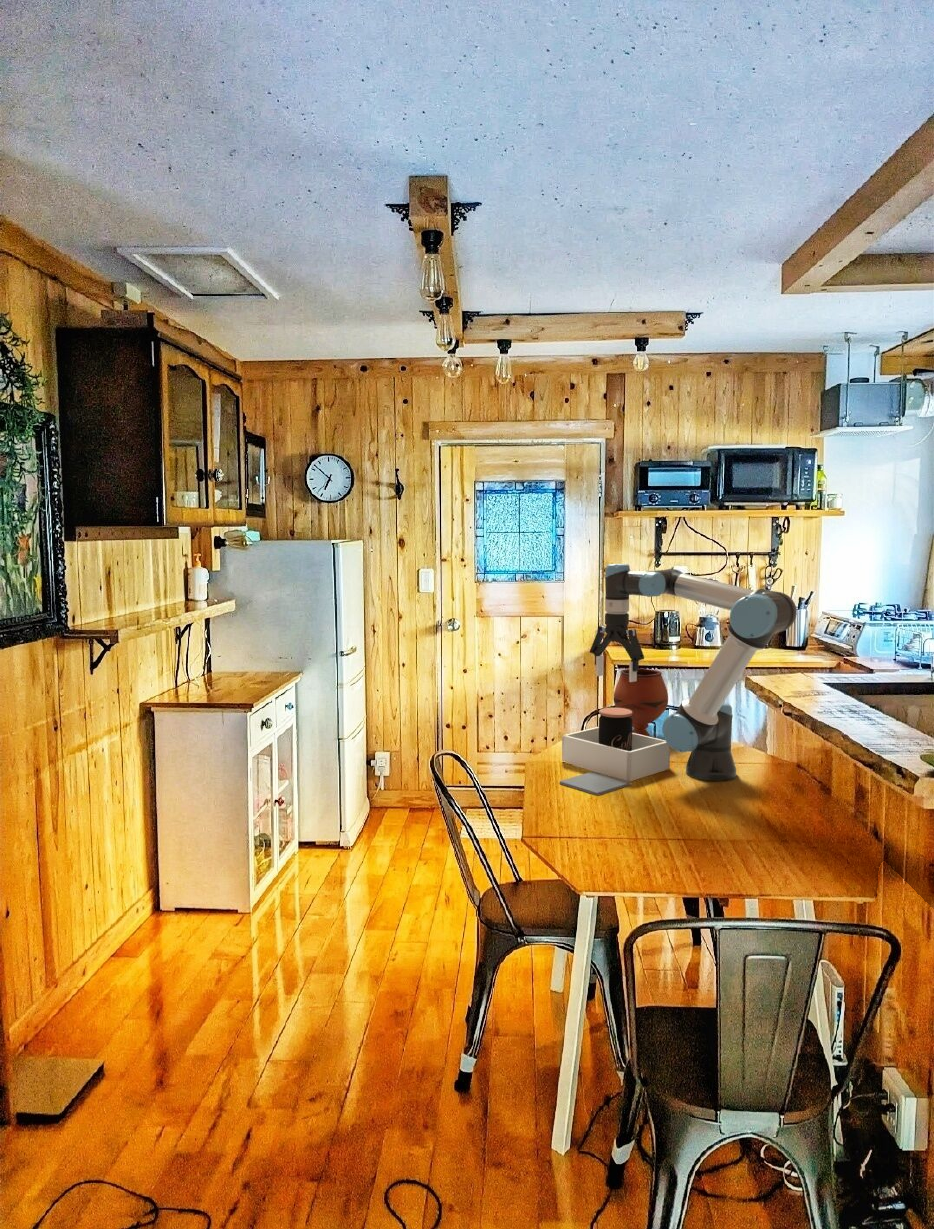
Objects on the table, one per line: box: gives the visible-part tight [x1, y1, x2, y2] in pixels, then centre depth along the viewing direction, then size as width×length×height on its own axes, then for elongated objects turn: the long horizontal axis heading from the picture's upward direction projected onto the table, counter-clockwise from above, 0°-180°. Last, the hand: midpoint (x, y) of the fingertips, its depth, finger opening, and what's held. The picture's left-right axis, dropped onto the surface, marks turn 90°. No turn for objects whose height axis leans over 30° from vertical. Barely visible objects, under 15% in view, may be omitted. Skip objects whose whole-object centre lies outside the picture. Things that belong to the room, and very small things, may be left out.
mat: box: [559, 771, 632, 796], centre depth 264 cm, size 15×15×1 cm
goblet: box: [613, 668, 669, 737], centre depth 316 cm, size 19×19×25 cm
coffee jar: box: [598, 707, 633, 751], centre depth 283 cm, size 11×11×18 cm
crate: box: [561, 726, 671, 782], centre depth 284 cm, size 28×20×9 cm
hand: (616, 678), depth 281 cm, fingers open, 13 cm apart
